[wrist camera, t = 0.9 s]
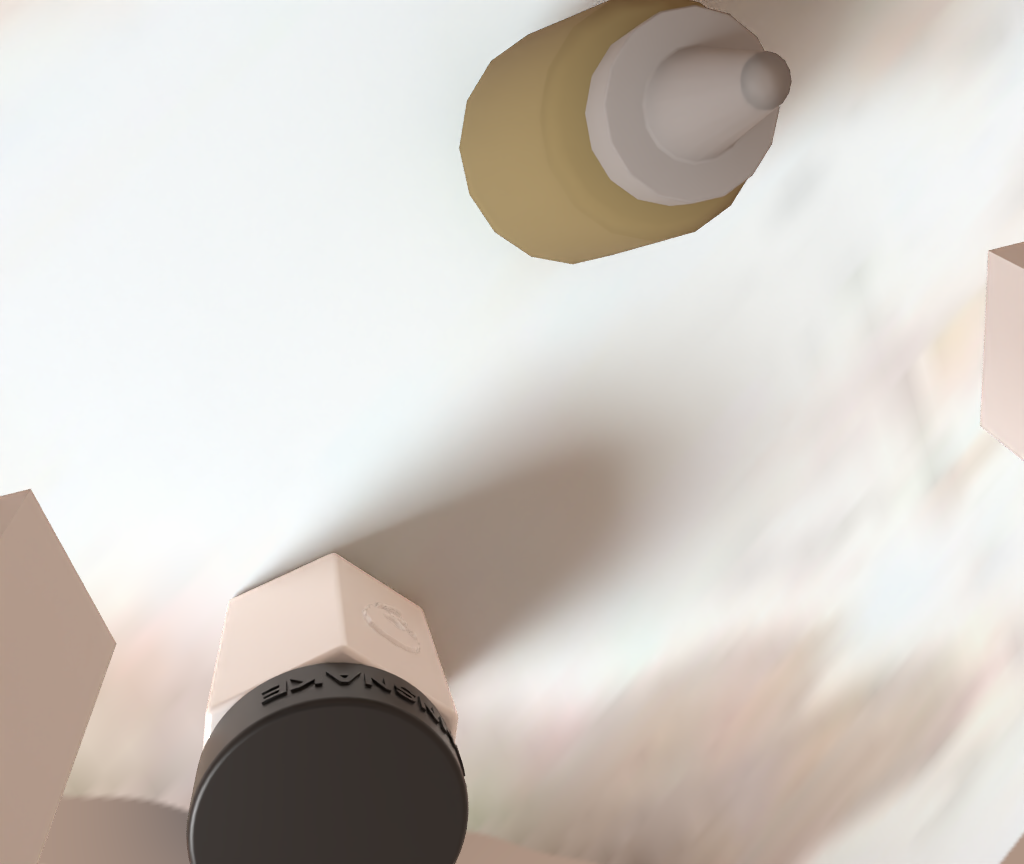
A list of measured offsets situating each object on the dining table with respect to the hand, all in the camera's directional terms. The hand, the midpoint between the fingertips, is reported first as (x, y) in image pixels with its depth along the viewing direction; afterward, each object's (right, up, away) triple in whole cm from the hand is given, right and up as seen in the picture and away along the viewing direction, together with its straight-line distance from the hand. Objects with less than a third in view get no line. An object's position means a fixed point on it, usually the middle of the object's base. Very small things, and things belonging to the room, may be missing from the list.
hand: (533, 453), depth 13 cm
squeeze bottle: (+1, +11, +24) cm, 26 cm away
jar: (-8, -9, +26) cm, 28 cm away
